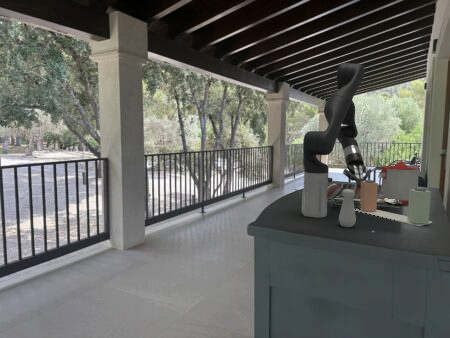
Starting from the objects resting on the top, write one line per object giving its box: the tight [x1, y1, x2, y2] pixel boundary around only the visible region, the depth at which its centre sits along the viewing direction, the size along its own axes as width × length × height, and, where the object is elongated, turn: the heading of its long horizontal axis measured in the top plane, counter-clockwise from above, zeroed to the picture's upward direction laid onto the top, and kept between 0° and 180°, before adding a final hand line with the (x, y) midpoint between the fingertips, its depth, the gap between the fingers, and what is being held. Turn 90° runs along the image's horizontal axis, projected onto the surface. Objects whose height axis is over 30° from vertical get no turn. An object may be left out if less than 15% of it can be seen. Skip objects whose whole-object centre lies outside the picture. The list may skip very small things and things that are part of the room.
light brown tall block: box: [359, 179, 379, 211], centre depth 143 cm, size 5×5×12 cm
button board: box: [355, 208, 433, 227], centre depth 136 cm, size 28×9×1 cm, turn 33°
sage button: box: [407, 187, 432, 225], centre depth 124 cm, size 5×5×12 cm
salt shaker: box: [338, 188, 357, 228], centre depth 121 cm, size 6×6×13 cm
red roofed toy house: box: [377, 160, 420, 206], centre depth 161 cm, size 16×17×20 cm
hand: (361, 187), depth 151 cm, fingers closed
